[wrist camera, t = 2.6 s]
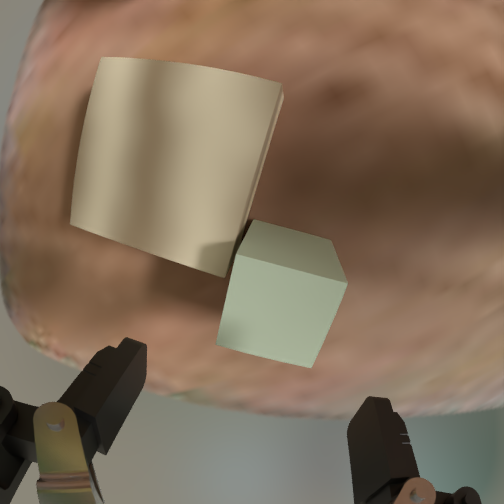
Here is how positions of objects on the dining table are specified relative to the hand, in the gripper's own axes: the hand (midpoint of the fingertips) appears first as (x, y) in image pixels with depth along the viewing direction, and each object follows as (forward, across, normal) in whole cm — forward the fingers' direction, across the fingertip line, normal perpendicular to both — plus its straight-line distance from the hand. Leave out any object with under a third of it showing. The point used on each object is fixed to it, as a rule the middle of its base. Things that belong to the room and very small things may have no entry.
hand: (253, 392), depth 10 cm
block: (+13, -1, 0) cm, 13 cm away
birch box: (+13, +8, -6) cm, 16 cm away
